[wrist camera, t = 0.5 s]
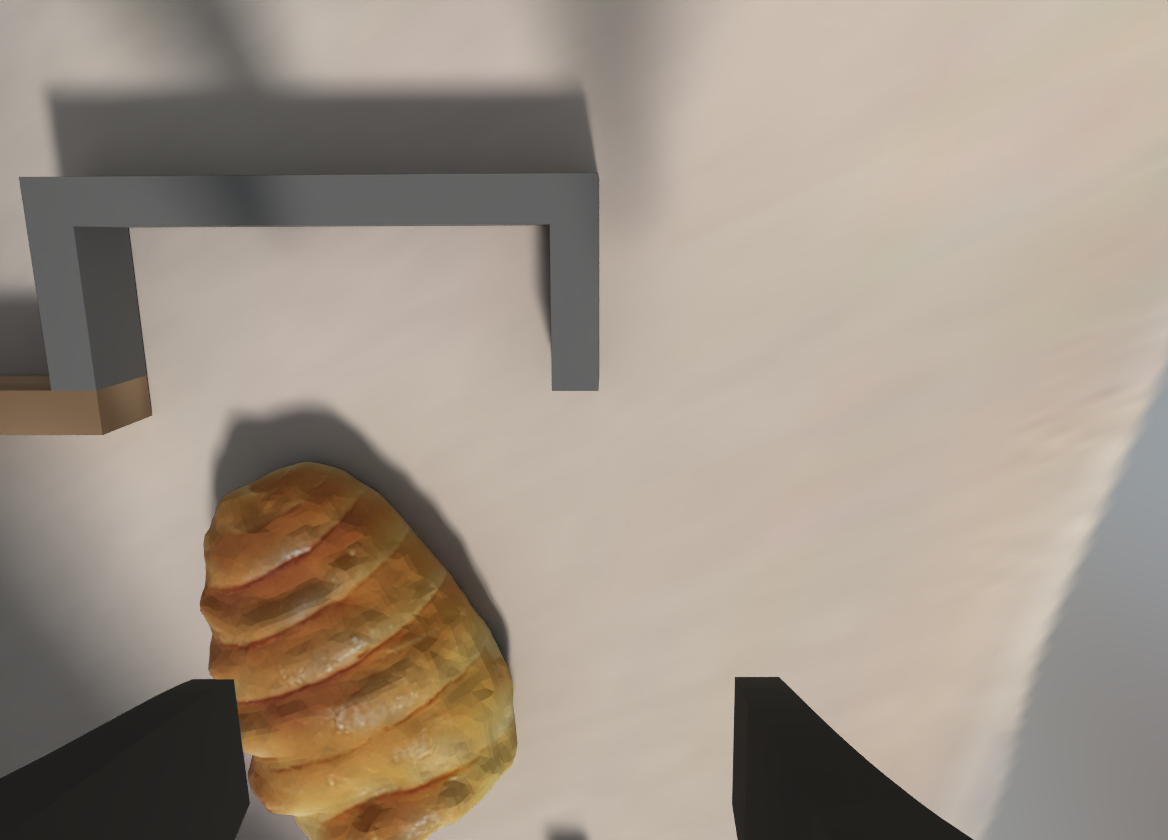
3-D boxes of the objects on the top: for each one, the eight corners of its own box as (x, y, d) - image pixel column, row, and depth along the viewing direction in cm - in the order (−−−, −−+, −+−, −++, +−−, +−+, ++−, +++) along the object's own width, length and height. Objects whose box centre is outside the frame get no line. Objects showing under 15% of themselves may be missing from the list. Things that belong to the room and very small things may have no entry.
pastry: (165, 510, 21) (70, 570, 17) (402, 412, 20) (357, 452, 16) (328, 806, 23) (275, 919, 19) (551, 726, 22) (541, 827, 18)
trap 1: (599, 375, 19) (598, 390, 17) (106, 375, 20) (51, 390, 18) (598, 179, 18) (598, 172, 16) (79, 183, 19) (19, 177, 17)
